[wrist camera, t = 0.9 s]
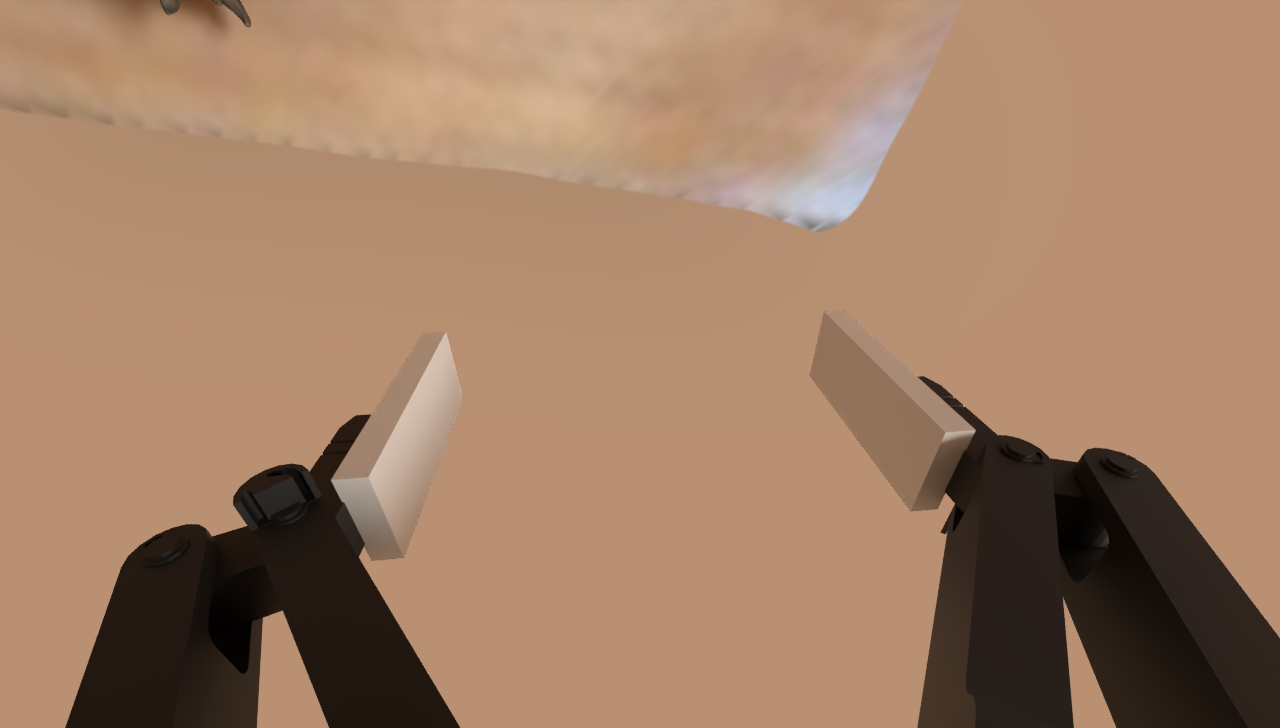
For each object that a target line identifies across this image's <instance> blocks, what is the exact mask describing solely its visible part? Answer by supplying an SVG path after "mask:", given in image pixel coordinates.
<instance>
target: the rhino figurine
mask: <svg viewBox="0 0 1280 728" xmlns="http://www.w3.org/2000/svg"><path fill="white" fill-rule="evenodd" d="M212 1H214V2H215V3H216V4H217V5H219V6H222V4H224V5H225V6H226V7H228V8H229V9H230V10H231V11H233V12H234V13H235V14H236V15H237V16H238V17H239V18H240V19H241V20H242V21H243V23H244V24H245V26H247V27H250V26H251V21H250V18H249V16H248V15H247V13H246V11H245V9H244V7H243V5H242V3H241V1H240V0H212ZM160 2H161V5H162V7H163V9H164V11H165V13H166V14H167V15H171V14H173V13H175V12H177V10H178V9H179V7H180V5H179V2H178V0H160Z"/></svg>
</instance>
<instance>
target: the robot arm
mask: <svg viewBox="0 0 1280 728" xmlns="http://www.w3.org/2000/svg"><path fill="white" fill-rule="evenodd" d="M810 377H811V378H812V380H813V381H814V382H815V384H816V385H817V386H818V388H819V389H820V390H821V392H822V393H823V394H824V395H825V397H826V398H827V400H828V401H829V402H830V404H831V405H832V406H833V408H834V409H835V410H836V412H837V413H838V414H839V416H840V417H841V418H842V420H843V421H844V423H845V424H846V425H847V426H848V428H849V429H850V431H851V432H852V433H853V435H854V436H855V437H856V439H857V440H858V441H859V442H860V444H861V445H862V447H863V448H864V449H865V451H866V452H867V453H868V455H869V456H870V457H871V459H872V460H873V462H875V464H876V466H877V467H878V468H879V470H880V471H881V472H882V474H883V475H884V476H885V478H886V479H887V480H888V482H889V483H890V484H891V486H892V487H893V488H894V490H895V491H896V492H897V494H898V495H899V496H900V498H901V499H902V500H903V502H904V503H905V505H906V506H907V507H908V508H909V510H910V511H921V510H932V509H938V507H939V505H940V503H941V501H942V499H943V496H944V495H945V493H947V495H948V496H949V497H950V498H951V499H952V501H953V502H954V503H955V505H954V507H953V509H952V511H951V513H950V515H949V517H948V519H947V521H946V523H945V525H944V527H943V529H942V531H941V533H943V534H946V533H947V539H946V545H945V551H944V558H943V565H942V571H941V578H940V584H939V590H938V597H937V604H936V610H935V616H934V623H933V630H932V636H931V643H930V649H929V656H928V662H927V669H926V676H925V682H924V688H923V695H922V702H921V708H920V714H919V721H918V728H1074V725H1073V713H1072V701H1071V689H1070V677H1069V665H1068V653H1067V641H1066V630H1065V618H1064V607H1063V598H1064V600H1065V603H1066V605H1067V608H1068V610H1069V612H1070V615H1071V617H1072V620H1073V622H1074V625H1075V627H1076V630H1077V632H1078V634H1079V637H1080V639H1081V642H1082V644H1083V647H1084V649H1085V652H1086V654H1087V657H1088V659H1089V661H1090V664H1091V666H1092V669H1093V671H1094V674H1095V676H1096V679H1097V681H1098V684H1099V686H1100V688H1101V691H1102V693H1103V696H1104V698H1105V701H1106V703H1107V706H1108V708H1109V710H1110V713H1111V716H1112V718H1113V720H1114V723H1115V725H1116V728H1280V638H1279V637H1278V635H1277V634H1276V633H1275V631H1274V630H1273V629H1272V627H1271V626H1270V625H1269V623H1268V622H1267V621H1266V619H1265V618H1264V617H1263V616H1262V614H1261V613H1260V612H1259V610H1258V609H1257V608H1256V606H1255V605H1254V604H1253V602H1252V601H1251V600H1250V598H1249V597H1248V596H1247V594H1246V593H1245V592H1244V590H1243V589H1242V588H1241V586H1240V585H1239V584H1238V583H1237V581H1236V580H1235V579H1234V577H1233V576H1232V575H1231V573H1230V572H1229V571H1228V569H1227V568H1226V567H1225V565H1224V564H1223V563H1222V561H1221V560H1220V559H1219V558H1218V556H1217V555H1216V554H1215V552H1214V551H1213V550H1212V548H1211V547H1210V546H1209V545H1208V543H1207V542H1206V540H1205V539H1204V538H1203V537H1202V535H1201V534H1200V533H1199V531H1198V530H1197V529H1196V527H1195V526H1194V525H1193V523H1192V522H1191V521H1190V519H1189V518H1188V517H1187V516H1186V514H1185V513H1184V511H1183V510H1182V509H1181V507H1180V506H1179V505H1178V504H1177V502H1176V501H1175V500H1174V498H1173V497H1172V496H1171V494H1170V493H1169V492H1168V491H1167V489H1166V488H1165V486H1164V485H1163V484H1162V483H1161V481H1160V480H1159V478H1158V477H1157V476H1156V475H1155V473H1154V472H1152V471H1151V470H1150V469H1149V468H1148V467H1147V466H1146V465H1144V464H1143V463H1141V462H1139V461H1138V460H1136V459H1135V458H1133V457H1131V456H1129V455H1126V454H1124V453H1121V452H1117V451H1113V450H1109V449H1103V448H1092V449H1088V450H1086V452H1085V453H1084V454H1083V455H1082V457H1081V458H1080V460H1079V461H1078V462H1071V461H1064V460H1058V459H1051V458H1049V457H1048V456H1047V455H1046V454H1045V453H1044V452H1043V451H1042V450H1041V449H1040V448H1038V447H1036V446H1035V445H1033V444H1031V443H1029V442H1027V441H1024V440H1022V439H1019V438H1015V437H1011V436H1005V435H1004V436H1002V435H997V434H996V433H995V432H993V431H992V430H991V429H990V428H989V427H988V426H986V425H985V424H984V423H983V422H982V421H981V420H980V419H978V418H977V417H976V416H975V415H974V414H973V413H972V412H971V411H969V410H968V409H967V408H966V407H963V404H961V403H960V402H959V401H958V400H957V399H956V398H953V396H952V395H951V394H950V393H949V392H948V391H947V390H945V389H944V388H943V387H942V386H941V385H939V384H937V383H935V382H933V381H931V380H930V379H928V378H926V377H924V376H922V377H917V376H916V375H915V374H914V373H913V372H912V371H910V370H909V369H908V368H907V367H906V366H905V365H904V364H903V363H902V362H901V361H900V360H898V359H897V358H896V357H895V356H894V355H893V354H892V353H891V352H890V351H888V350H887V349H886V348H885V347H884V346H883V345H882V344H881V343H880V342H879V341H878V340H877V339H875V338H874V337H873V336H872V335H871V334H870V333H869V332H868V331H867V330H866V329H864V328H863V327H862V326H861V325H860V324H859V323H858V322H857V321H856V320H854V318H852V317H851V316H850V315H849V314H848V313H847V312H846V311H845V310H840V311H824V314H823V318H822V322H821V327H820V331H819V336H818V340H817V345H816V349H815V354H814V358H813V363H812V367H811V372H810ZM462 400H463V395H462V392H461V388H460V384H459V380H458V377H457V373H456V368H455V365H454V361H453V357H452V353H451V349H450V345H449V342H448V338H447V334H446V332H433V333H422V334H421V336H420V337H419V339H418V341H417V342H416V344H415V346H414V347H413V349H412V350H411V352H410V354H409V355H408V357H407V358H406V360H405V362H404V363H403V365H402V366H401V368H400V370H399V371H398V373H397V375H396V376H395V378H394V379H393V381H392V383H391V384H390V386H389V387H388V389H387V391H386V392H385V394H384V395H383V397H382V399H381V400H380V402H379V403H378V405H377V407H376V408H375V410H374V412H373V413H372V414H371V415H356V416H355V417H353V418H352V419H351V420H349V421H348V422H347V423H345V424H344V425H343V426H342V427H340V428H339V430H338V431H337V433H336V434H335V436H334V437H333V439H332V440H331V444H328V446H327V447H326V449H325V450H324V452H323V455H321V456H320V457H319V459H318V460H317V462H316V463H315V465H314V466H313V468H312V469H311V471H310V472H309V471H308V469H306V468H305V467H304V466H302V465H297V464H286V465H279V466H276V467H273V468H270V469H267V470H265V471H263V472H261V473H259V474H257V475H255V476H253V477H252V478H250V479H249V480H248V481H247V482H245V483H244V484H243V485H242V486H241V487H240V488H239V489H238V491H237V492H236V494H235V495H234V497H233V505H234V507H235V508H236V510H237V511H238V512H239V514H240V515H241V517H242V518H243V520H244V521H245V523H246V524H247V526H246V527H243V528H239V529H236V530H232V531H229V532H226V533H223V534H219V535H216V536H213V537H212V536H211V535H210V533H209V532H208V531H207V529H206V528H204V527H202V526H200V525H197V524H196V525H195V524H193V525H192V524H191V525H190V524H186V525H182V526H178V527H174V528H171V529H169V530H166V531H164V532H162V533H159V534H157V535H155V536H154V537H152V538H151V539H149V540H147V541H146V542H144V543H143V544H141V545H140V546H139V547H138V548H137V549H135V550H134V551H133V552H132V553H131V554H130V555H129V556H128V557H127V559H126V561H125V562H124V564H123V566H122V567H121V570H120V573H119V576H118V578H117V581H116V584H115V587H114V590H113V593H112V596H111V598H110V601H109V604H108V607H107V610H106V613H105V616H104V618H103V621H102V624H101V627H100V630H99V633H98V636H97V638H96V642H95V644H94V647H93V650H92V653H91V656H90V659H89V662H88V664H87V667H86V670H85V673H84V676H83V679H82V681H81V684H80V687H79V690H78V693H77V696H76V699H75V701H74V705H73V707H72V710H71V713H70V716H69V719H68V721H67V724H66V727H65V728H257V712H258V694H259V676H260V659H261V640H262V623H263V617H266V616H269V615H271V614H274V613H277V612H280V611H282V610H283V612H284V615H285V617H286V619H287V622H288V624H289V627H290V630H291V632H292V634H293V637H294V640H295V642H296V645H297V647H298V650H299V653H300V655H301V657H302V660H303V663H304V665H305V668H306V670H307V673H308V675H309V677H310V680H311V683H312V685H313V688H314V690H315V693H316V695H317V698H318V701H319V703H320V705H321V708H322V711H323V713H324V716H325V718H326V721H327V723H328V726H329V728H460V727H459V725H458V723H457V722H456V720H455V718H454V716H453V715H452V713H451V711H450V710H449V708H448V706H447V705H446V703H445V701H444V700H443V698H442V696H441V695H440V693H439V691H438V690H437V688H436V686H435V685H434V683H433V681H432V680H431V678H430V676H429V675H428V673H427V671H426V670H425V668H424V666H423V665H422V663H421V661H420V659H419V658H418V657H417V654H416V653H415V651H414V649H413V648H412V646H411V644H410V643H409V641H408V640H407V638H406V636H405V634H404V633H403V631H402V630H401V628H400V626H399V624H398V623H397V621H396V619H395V618H394V616H393V614H392V613H391V611H390V609H389V608H388V606H387V604H386V603H385V601H384V599H383V597H382V596H381V594H380V592H379V591H378V589H377V587H376V586H375V584H374V583H373V581H372V579H371V577H370V576H369V574H368V572H367V571H366V569H365V567H364V566H363V564H362V562H361V561H360V559H359V555H360V553H361V551H362V549H363V547H365V549H366V551H367V553H368V555H369V557H370V559H371V560H372V561H374V560H386V559H397V558H404V557H405V554H406V552H407V549H408V546H409V543H410V540H411V538H412V535H413V532H414V530H415V527H416V525H417V521H418V519H419V516H420V514H421V511H422V508H423V505H424V503H425V500H426V498H427V495H428V492H429V489H430V487H431V484H432V481H433V479H434V476H435V473H436V471H437V468H438V465H439V462H440V460H441V457H442V454H443V452H444V449H445V446H446V444H447V441H448V438H449V436H450V433H451V430H452V427H453V425H454V422H455V419H456V417H457V414H458V411H459V409H460V406H461V403H462ZM947 531H948V532H947Z"/></svg>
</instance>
